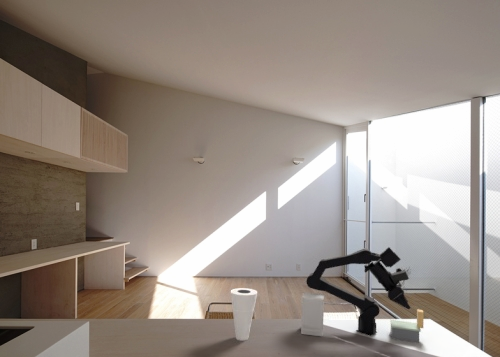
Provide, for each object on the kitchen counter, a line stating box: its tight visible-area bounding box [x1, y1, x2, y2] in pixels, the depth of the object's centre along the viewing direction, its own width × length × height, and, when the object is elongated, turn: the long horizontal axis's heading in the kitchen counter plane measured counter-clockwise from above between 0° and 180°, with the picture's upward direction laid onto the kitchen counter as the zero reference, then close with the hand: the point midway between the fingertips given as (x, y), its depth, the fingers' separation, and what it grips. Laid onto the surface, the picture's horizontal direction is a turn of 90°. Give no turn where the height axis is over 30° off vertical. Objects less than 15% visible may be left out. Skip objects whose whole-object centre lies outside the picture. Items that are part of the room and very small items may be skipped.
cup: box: [230, 287, 258, 342], centre depth 138 cm, size 11×11×18 cm
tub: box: [390, 326, 420, 344], centre depth 145 cm, size 10×8×5 cm
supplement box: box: [300, 292, 325, 337], centre depth 148 cm, size 9×9×15 cm
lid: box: [389, 308, 425, 333], centre depth 145 cm, size 12×8×8 cm
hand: (408, 305), depth 145 cm, fingers open, 9 cm apart
